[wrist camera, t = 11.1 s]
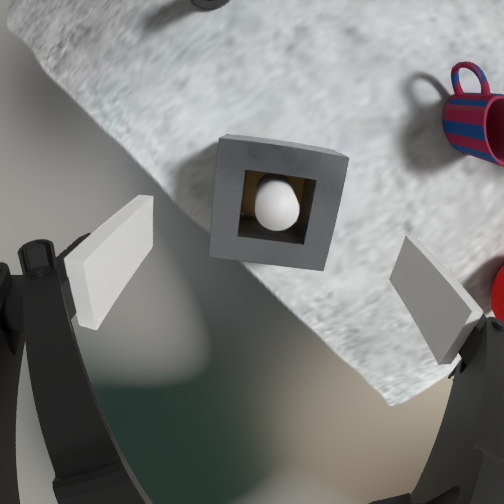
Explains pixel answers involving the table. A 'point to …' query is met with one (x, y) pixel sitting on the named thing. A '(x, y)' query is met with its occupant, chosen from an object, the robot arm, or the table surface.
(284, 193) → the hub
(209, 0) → the dark grey round-topped piece
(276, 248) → the grey square bin
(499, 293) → the tomato
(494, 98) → the mug
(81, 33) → the table surface
